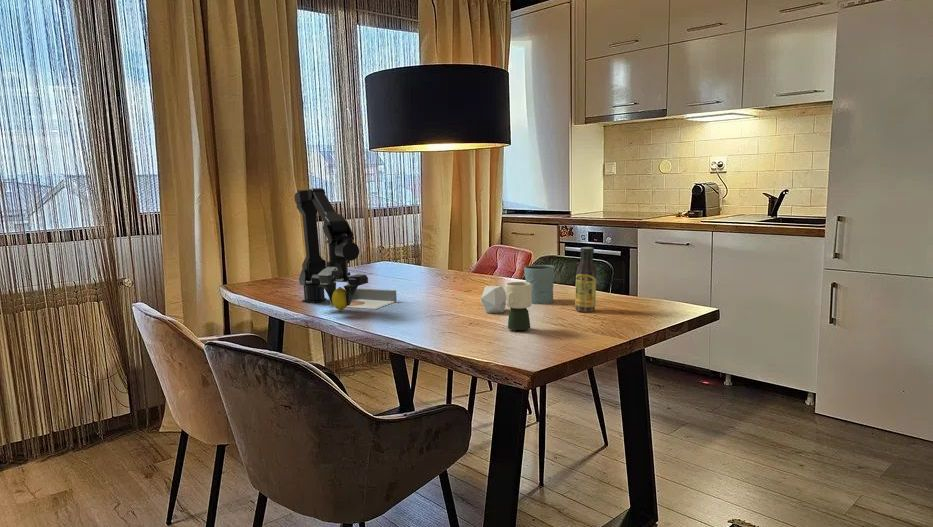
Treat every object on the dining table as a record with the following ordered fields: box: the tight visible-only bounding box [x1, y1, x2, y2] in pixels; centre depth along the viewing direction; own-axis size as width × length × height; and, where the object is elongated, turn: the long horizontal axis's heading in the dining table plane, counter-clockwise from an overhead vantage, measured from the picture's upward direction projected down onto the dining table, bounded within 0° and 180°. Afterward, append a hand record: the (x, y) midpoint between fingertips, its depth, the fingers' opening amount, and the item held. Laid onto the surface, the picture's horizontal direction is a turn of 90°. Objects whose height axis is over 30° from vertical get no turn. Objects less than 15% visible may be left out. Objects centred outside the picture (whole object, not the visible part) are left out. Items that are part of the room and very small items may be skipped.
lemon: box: [332, 286, 347, 312], centre depth 203 cm, size 6×6×8 cm
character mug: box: [504, 281, 533, 332], centre depth 171 cm, size 11×7×13 cm, turn 147°
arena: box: [329, 287, 398, 310], centre depth 214 cm, size 18×14×4 cm
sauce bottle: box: [574, 246, 597, 313], centre depth 192 cm, size 6×6×20 cm
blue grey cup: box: [523, 264, 555, 305], centre depth 209 cm, size 10×10×12 cm
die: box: [480, 285, 507, 314], centre depth 195 cm, size 8×9×10 cm
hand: (340, 304), depth 204 cm, fingers closed on lemon, 5 cm apart
